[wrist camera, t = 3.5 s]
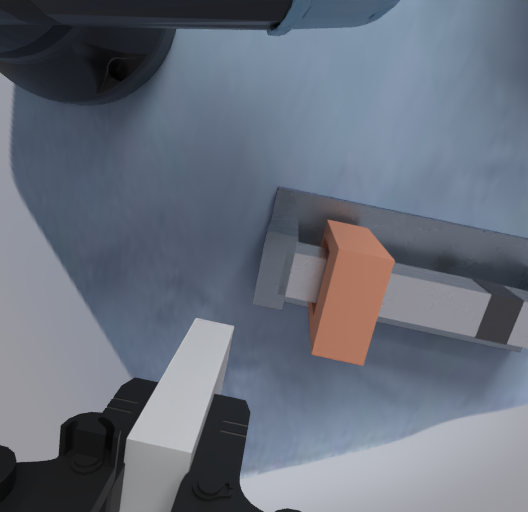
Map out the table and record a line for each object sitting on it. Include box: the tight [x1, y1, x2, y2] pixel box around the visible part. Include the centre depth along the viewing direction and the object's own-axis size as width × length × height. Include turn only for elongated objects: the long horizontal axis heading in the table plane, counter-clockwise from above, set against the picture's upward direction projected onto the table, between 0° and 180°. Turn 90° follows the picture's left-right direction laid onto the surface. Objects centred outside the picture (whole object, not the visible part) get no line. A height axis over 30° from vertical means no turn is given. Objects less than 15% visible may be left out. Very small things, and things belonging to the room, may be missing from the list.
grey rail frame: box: [252, 186, 528, 352], centre depth 29 cm, size 22×9×8 cm, turn 79°
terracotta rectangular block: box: [308, 220, 395, 366], centre depth 26 cm, size 3×6×8 cm, turn 169°
